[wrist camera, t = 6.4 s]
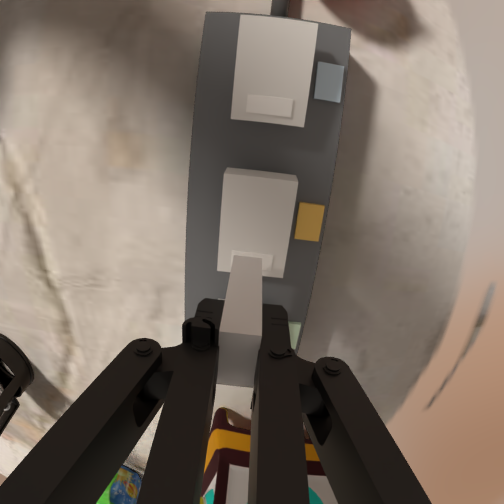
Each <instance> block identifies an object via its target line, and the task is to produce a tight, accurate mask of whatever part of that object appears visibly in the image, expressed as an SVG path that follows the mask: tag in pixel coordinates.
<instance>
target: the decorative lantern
mask: <svg viewBox="0 0 504 504" xmlns="http://www.w3.org/2000/svg"><path fill="white" fill-rule="evenodd" d="M250 438H251V430H246V429H241V428H237V427H234V426H232V425H230V424H229V422H228V415H227V410H226V409H225V408H219V409H218V410H217V411H216V413H215V416H214V420H213V424H212V428H211V431H210V434H209V441H208V447H207V454H206V461H205V468H204V476H203V483H202V490H201V497H200V504H247V502H248V481H249V460H250ZM304 440H305V451H306V463H307V474H308V487H309V500H310V504H338V502H337V500H336V498H335V495H334V493H333V491H332V488H331V486H330V484H329V481H328V479H327V477H326V474H325V472H324V470H323V467H322V465H321V462H320V460H319V458H318V455H317V453H316V451H315V448H314V446H313V443H312V441H311V440H308V439H304Z"/></svg>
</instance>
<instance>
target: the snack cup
mask: <svg viewBox="0 0 504 504" xmlns="http://www.w3.org/2000/svg"><path fill="white" fill-rule="evenodd" d="M140 487H141V479H140V477H139V475H138V474H137V473H136V472H133V471H132V470H130V469H129V468H127V467H125V466H121V467H120V469H119V470H118V472H117V473H116V475H115V476H114V478H113V479H112V481H111V482H110V484H109V485H108V487H107V488H106V490H105V491H104V493H103V494H102V496H101V497H100V499H99V500H98V501H97V503H96V504H136V503H137V499H138V495H139V491H140Z"/></svg>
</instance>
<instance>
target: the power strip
mask: <svg viewBox="0 0 504 504" xmlns="http://www.w3.org/2000/svg"><path fill="white" fill-rule="evenodd" d="M288 8H289V0H272V6H271V14H270V15H262V14H250V13H233V12H206V15H205V22H204V29H203V36H202V44H201V52H200V60H199V68H198V77H197V86H196V95H195V105H194V116H193V127H192V139H191V152H190V167H189V182H188V201H187V223H186V253H185V321H186V320H187V319H189V318H192V317H194V316H195V313H196V309H197V306H198V303H199V302H201V301H202V300H203V299H204V298H211V299H225V298H226V293H227V287H228V282H229V277H230V272H223V271H217V264H218V247H219V232H220V217H221V204H222V190H223V178H224V172H225V171H226V169H227V167H229V168H239V169H249V170H258V171H267V172H275V173H283V174H291V175H296V177H297V179H298V188H297V194H296V201H295V207H294V214H293V220H292V226H291V232H290V238H289V244H288V250H287V256H286V262H285V268H284V274H283V278H277V277H268V276H262V303H263V304H273V305H282V306H283V307H284V308H285V310H286V311H287V314H288V323H289V332H290V341H291V348H292V349H293V350H294V352H295V354H296V355H297V353H298V349H299V344H300V340H301V336H302V332H303V328H304V323H305V319H306V315H307V310H308V306H309V301H310V297H311V292H312V288H313V283H314V278H315V274H316V269H317V264H318V259H319V254H320V249H321V244H322V239H323V233H324V228H325V222H326V217H327V211H328V206H329V200H330V194H331V188H332V182H333V176H334V170H335V163H336V157H337V150H338V143H339V136H340V129H341V121H342V114H343V106H344V97H345V89H346V80H347V71H348V61H349V50H350V39H351V29H350V28H345V27H341V26H336V25H331V24H326V23H321V22H315V21H309V20H303V19H296V18H289V17H288ZM240 15H255V16H266V17H276V18H284V19H292V20H299V21H305V22H311V23H317V24H318V30H317V38H316V46H315V53H314V61H313V68H312V75H311V82H310V89H309V96H308V103H307V110H306V116H305V123H304V127H297V126H290V125H282V124H274V123H266V122H257V121H247V120H236V119H231V109H232V97H233V86H234V75H235V64H236V54H237V43H238V34H239V24H240Z"/></svg>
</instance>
